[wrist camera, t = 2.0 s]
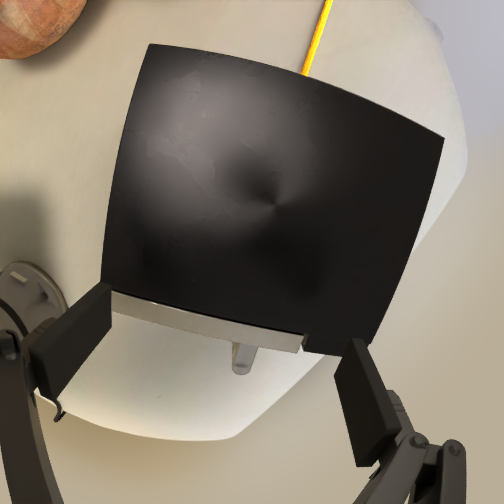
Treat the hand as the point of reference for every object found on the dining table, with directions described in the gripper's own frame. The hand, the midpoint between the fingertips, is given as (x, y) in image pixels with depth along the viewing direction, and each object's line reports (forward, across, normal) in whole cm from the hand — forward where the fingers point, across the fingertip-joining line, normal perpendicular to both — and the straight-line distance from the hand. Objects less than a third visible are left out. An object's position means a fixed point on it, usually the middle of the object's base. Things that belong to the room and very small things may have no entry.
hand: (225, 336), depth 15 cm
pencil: (+23, -3, -25) cm, 34 cm away
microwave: (+22, 0, -5) cm, 23 cm away
